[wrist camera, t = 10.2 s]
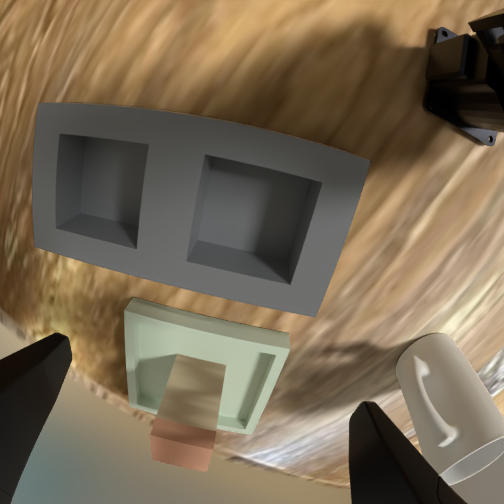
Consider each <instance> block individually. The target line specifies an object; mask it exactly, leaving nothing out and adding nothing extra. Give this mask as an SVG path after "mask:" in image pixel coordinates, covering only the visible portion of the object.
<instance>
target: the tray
mask: <svg viewBox="0 0 504 504" xmlns="http://www.w3.org/2000/svg"><path fill="white" fill-rule="evenodd" d="M124 328H125V354H126V371H127V384H128V395H129V405H130V407H133V408H137V409H140V410H143V411H146V412H150V413H153V414H157V412H158V409H159V406H160V403H161V400H162V397H163V394H164V391H165V388H166V385H167V382H168V379H169V376H170V373H171V370H172V367H173V365H174V362H175V359H176V356H177V354H181V355H185V356H189V357H193V358H197V359H201V360H206V361H210V362H215V363H220V364H224V365H226V370H225V377H224V383H223V390H222V396H221V402H220V409H219V415H218V422H217V428H216V429H220V430H226V431H231V432H237V433H243V434H250V435H252V433H253V431H254V429H255V427H256V425H257V423H258V421H259V419H260V417H261V414H262V412H263V410H264V408H265V406H266V404H267V401H268V399H269V397H270V395H271V393H272V390H273V388H274V386H275V384H276V381H277V379H278V377H279V375H280V372H281V370H282V368H283V365H284V363H285V361H286V358H287V356H288V353H289V351H290V339H289V333H285V332H279V331H274V330H269V329H264V328H259V327H254V326H250V325H245V324H240V323H235V322H231V321H226V320H222V319H218V318H213V317H209V316H205V315H200V314H196V313H192V312H188V311H184V310H180V309H176V308H172V307H168V306H164V305H161V304H157V303H153V302H149V301H146V300H142V299H138V298H135V297H133V298H132V299H131V301H130V302H129V304H128V305H127V307H126V308H125V310H124Z"/></svg>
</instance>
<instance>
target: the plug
mask: <svg viewBox="0 0 504 504" xmlns="http://www.w3.org/2000/svg"><path fill="white" fill-rule="evenodd" d="M225 370H226V365H224V364H220V363H215V362H210V361H206V360H201V359H197V358H193V357H189V356H185V355H181V354H177V356H176V359H175V362H174V365H173V367H172V370H171V373H170V376H169V379H168V382H167V385H166V388H165V391H164V394H163V397H162V400H161V403H160V406H159V409H158V412H157V415H156V418H155V422H154V425H153V428H152V431H151V434H150V437H151V452H152V459H153V460H157V461H160V462H164V463H168V464H172V465H176V466H181V467H185V468H189V469H194V470H199V471H204V472H206V471H207V468H208V465H209V462H210V458H211V455H212V452H213V448H214V441H215V435H216V428H217V422H218V415H219V409H220V402H221V396H222V390H223V383H224V377H225Z"/></svg>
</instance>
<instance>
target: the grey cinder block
mask: <svg viewBox="0 0 504 504" xmlns="http://www.w3.org/2000/svg"><path fill="white" fill-rule="evenodd" d="M370 163H371V161H370V160H368V159H366V158H363V157H361V156H358V155H356V154H353V153H351V152H348V151H345V150H342V149H338V148H335V147H332V146H329V145H325V144H322V143H318V142H315V141H311V140H308V139H304V138H301V137H297V136H293V135H289V134H285V133H281V132H277V131H273V130H269V129H265V128H261V127H256V126H252V125H247V124H243V123H238V122H233V121H228V120H223V119H218V118H212V117H207V116H201V115H195V114H189V113H182V112H175V111H168V110H161V109H153V108H144V107H135V106H125V105H113V104H99V103H79V102H56V103H39V104H38V111H37V119H36V128H35V138H34V152H33V172H32V212H33V233H34V247H37V248H40V249H43V250H46V251H49V252H53V253H56V254H59V255H62V256H66V257H69V258H72V259H76V260H79V261H82V262H86V263H89V264H93V265H96V266H100V267H103V268H107V269H110V270H114V271H118V272H121V273H125V274H128V275H132V276H136V277H140V278H143V279H147V280H151V281H155V282H159V283H163V284H167V285H171V286H175V287H179V288H183V289H187V290H191V291H195V292H199V293H203V294H208V295H212V296H216V297H221V298H225V299H229V300H234V301H238V302H243V303H247V304H252V305H257V306H261V307H266V308H271V309H276V310H281V311H286V312H291V313H296V314H301V315H306V316H311V317H316V315H317V313H318V310H319V308H320V306H321V303H322V301H323V298H324V296H325V293H326V291H327V288H328V285H329V283H330V280H331V278H332V275H333V273H334V270H335V267H336V265H337V262H338V259H339V257H340V254H341V251H342V248H343V246H344V243H345V240H346V237H347V234H348V231H349V229H350V226H351V223H352V220H353V217H354V214H355V211H356V208H357V205H358V202H359V199H360V196H361V192H362V189H363V186H364V183H365V180H366V176H367V173H368V170H369V166H370Z"/></svg>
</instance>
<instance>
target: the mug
mask: <svg viewBox="0 0 504 504" xmlns="http://www.w3.org/2000/svg"><path fill="white" fill-rule="evenodd" d="M396 376H397V379H398V382H399V384H400V387H401V390H402V393H403V396H404V399H405V402H406V404H407V407H408V410H409V413H410V416H411V419H412V422H413V425H414V428H415V431H416V435H417V438H418V441H419V444H420V448H421V451H422V455H423V457H424V458H425V459H426V460H427V462H428V463H429V464H430V465H431V466H432V467H433V468H434V469H435V471H436V472H437V473H438V474H439V476H441V477H442V478H443V480H444V481H445V482H446V483H447V484H448V485H449V486H450V485H453V484H456V483H458V482H460V481H462V480H465V479H466V478H469V477H470V476H472V475H474V474H476V473H477V472H479V471H481V470H482V469H484V468H485V467H487V466H488V465H490V464H491V463H492V462H493V461H495V460H496V459H497V458H498V457H499V456H500V455H502V454H503V453H504V417H503V416H502V414H501V412H500V410H499V409H498V407H497V405H496V404H495V402H494V400H493V399H492V397H491V396H490V394H489V392H488V391H487V389H486V387H485V386H484V384H483V383H482V381H481V380H480V378H479V377H478V375H477V373H476V372H475V370H474V369H473V367H472V366H471V364H470V363H469V361H468V360H467V358H466V357H465V355H464V354H463V352H462V351H461V350H460V348H459V347H458V346H457V344H456V343H455V342H454V340H453V339H452V338H451V337H450V336H449V335H447V334H444V333H434V334H430V335H427V336H425V337H422V338H420V339H419V340H417V341H416V342H414V343H413V344H411V345H410V346H409V347H408V348H407V349H406V350H405V351H404V352H403V354H402V355H401V356H400V358H399V360H398V362H397V365H396Z"/></svg>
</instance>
